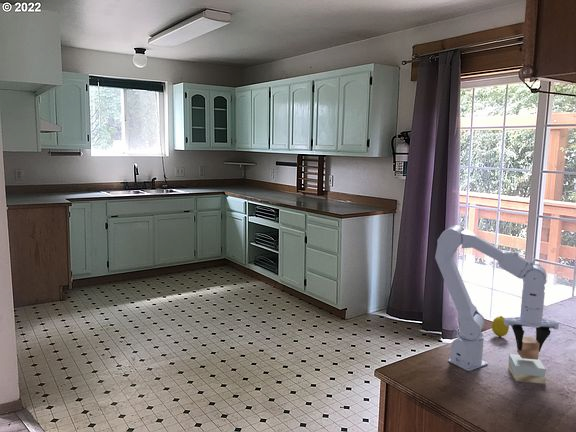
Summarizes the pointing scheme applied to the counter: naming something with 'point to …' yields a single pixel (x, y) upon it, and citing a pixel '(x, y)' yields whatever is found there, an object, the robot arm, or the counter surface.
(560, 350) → the counter surface
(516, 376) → the tower base
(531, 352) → the block
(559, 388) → the counter surface
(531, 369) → the tower top
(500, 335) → the lemon
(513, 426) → the counter surface
